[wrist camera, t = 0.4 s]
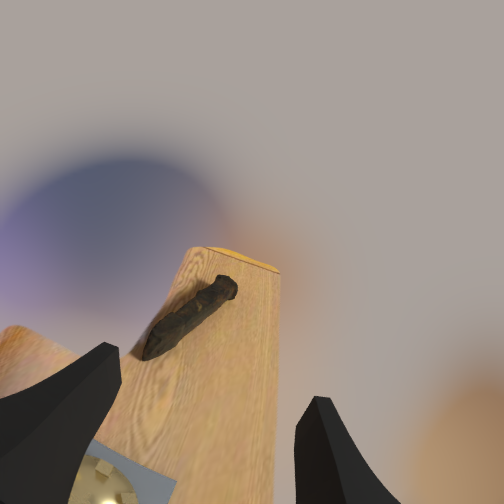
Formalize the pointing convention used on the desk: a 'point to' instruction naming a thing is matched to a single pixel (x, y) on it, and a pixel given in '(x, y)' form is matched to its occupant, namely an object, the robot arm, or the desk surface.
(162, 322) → the dark brown statuette
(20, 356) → the desk surface
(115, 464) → the base plate
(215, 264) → the desk surface
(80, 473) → the gold rounded piece
